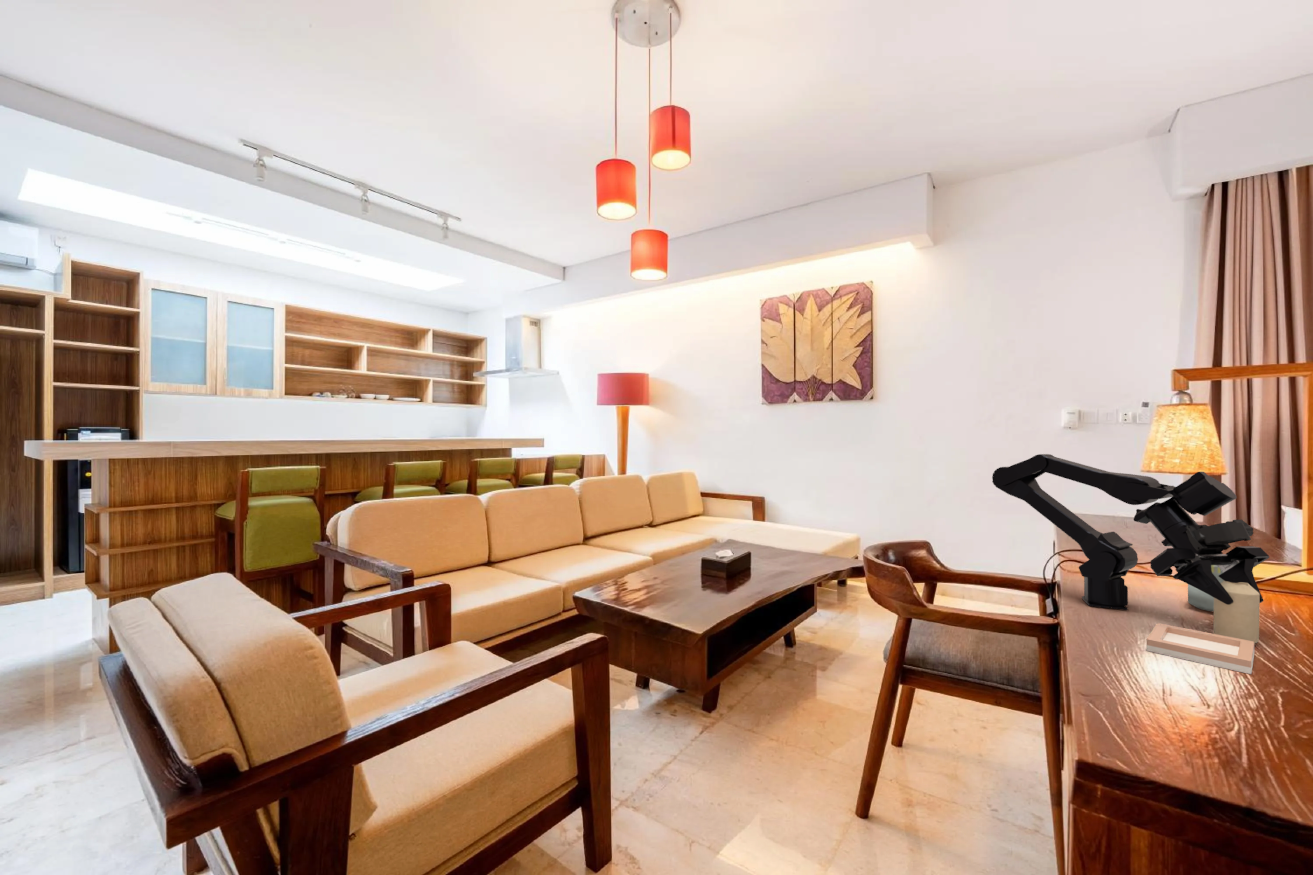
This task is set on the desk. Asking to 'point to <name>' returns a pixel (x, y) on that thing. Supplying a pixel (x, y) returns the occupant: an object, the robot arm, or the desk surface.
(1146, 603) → the desk surface
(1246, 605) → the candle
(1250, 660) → the tray
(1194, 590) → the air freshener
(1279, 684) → the desk surface
